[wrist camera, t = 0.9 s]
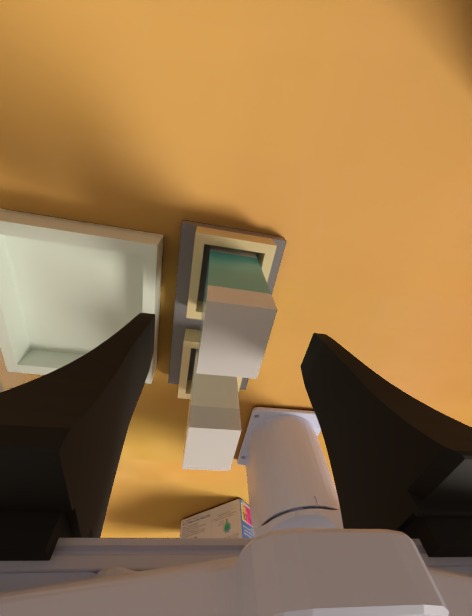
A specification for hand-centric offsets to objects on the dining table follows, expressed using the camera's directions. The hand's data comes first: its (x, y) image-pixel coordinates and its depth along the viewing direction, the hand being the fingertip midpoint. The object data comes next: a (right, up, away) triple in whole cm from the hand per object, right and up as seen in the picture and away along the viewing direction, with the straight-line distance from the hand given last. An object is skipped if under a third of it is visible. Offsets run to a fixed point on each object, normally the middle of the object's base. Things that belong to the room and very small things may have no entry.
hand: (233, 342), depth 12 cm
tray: (-11, +2, +8) cm, 14 cm away
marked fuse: (0, +4, +7) cm, 8 cm away
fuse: (-2, -3, +11) cm, 11 cm away
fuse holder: (-1, +1, +10) cm, 10 cm away
